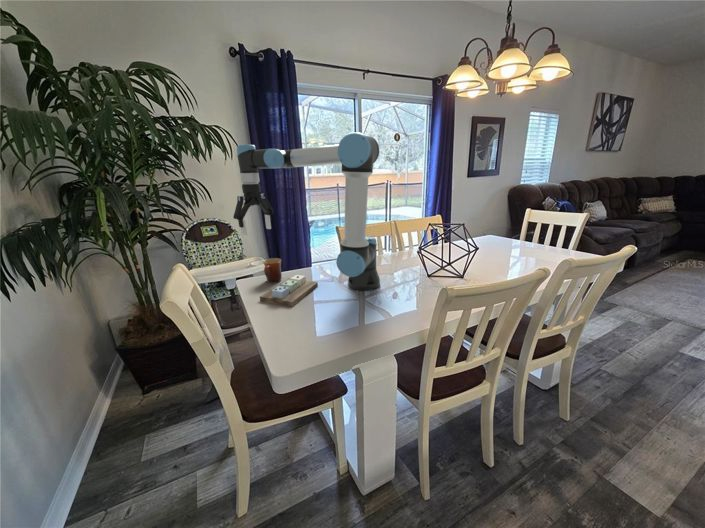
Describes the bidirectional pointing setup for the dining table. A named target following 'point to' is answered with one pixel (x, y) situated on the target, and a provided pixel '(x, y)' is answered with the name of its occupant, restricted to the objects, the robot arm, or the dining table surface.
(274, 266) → the mug
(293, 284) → the tile two
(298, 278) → the tile one
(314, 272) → the dining table surface
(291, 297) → the board
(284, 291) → the tile three
